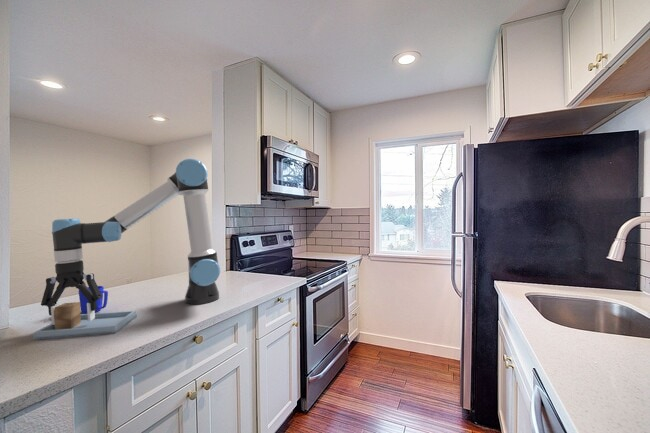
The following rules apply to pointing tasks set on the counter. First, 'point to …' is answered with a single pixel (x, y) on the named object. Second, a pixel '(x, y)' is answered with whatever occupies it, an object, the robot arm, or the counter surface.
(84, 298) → the mug
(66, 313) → the walnut block
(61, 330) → the tray
